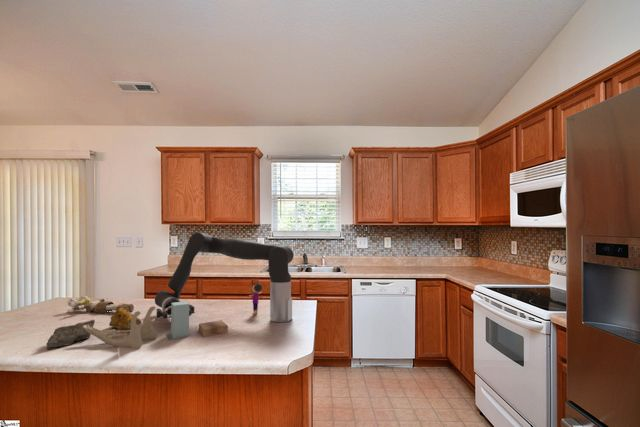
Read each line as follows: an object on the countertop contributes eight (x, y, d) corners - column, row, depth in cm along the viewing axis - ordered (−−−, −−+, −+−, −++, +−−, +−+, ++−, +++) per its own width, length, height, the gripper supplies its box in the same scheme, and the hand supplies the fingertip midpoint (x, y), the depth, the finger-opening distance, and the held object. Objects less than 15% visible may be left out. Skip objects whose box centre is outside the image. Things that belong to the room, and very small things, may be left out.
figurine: (145, 308, 174) (92, 305, 178) (145, 295, 175) (93, 292, 178) (111, 321, 150) (51, 317, 154) (111, 306, 150) (52, 302, 154)
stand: (221, 327, 138) (221, 320, 139) (227, 333, 131) (227, 325, 131) (198, 331, 134) (198, 323, 134) (204, 337, 126) (204, 329, 126)
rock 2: (133, 333, 143) (147, 318, 142) (120, 343, 135) (134, 327, 133) (114, 316, 143) (128, 300, 142) (99, 324, 135) (114, 308, 133)
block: (186, 331, 131) (186, 301, 132) (188, 335, 127) (189, 303, 127) (170, 334, 129) (171, 302, 129) (173, 338, 124) (173, 305, 124)
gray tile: (189, 330, 134) (189, 329, 134) (194, 337, 126) (194, 336, 126) (165, 334, 129) (165, 333, 129) (168, 341, 121) (168, 340, 122)
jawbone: (158, 339, 124) (156, 303, 123) (141, 352, 114) (139, 312, 113) (96, 339, 126) (93, 303, 125) (74, 351, 116) (71, 312, 116)
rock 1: (81, 321, 131) (100, 316, 129) (83, 339, 130) (103, 334, 128) (33, 333, 115) (55, 328, 112) (36, 353, 114) (58, 348, 111)
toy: (258, 311, 165) (259, 280, 166) (268, 312, 163) (268, 281, 163) (245, 316, 156) (245, 284, 156) (254, 317, 153) (255, 284, 154)
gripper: (154, 300, 142) (158, 307, 128) (189, 296, 150) (197, 303, 136) (153, 317, 142) (158, 327, 128) (189, 313, 149) (196, 321, 135)
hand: (178, 315), depth 132 cm, fingers open, 8 cm apart
